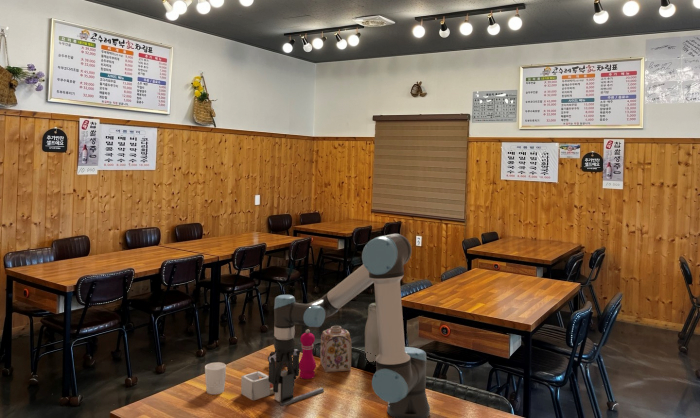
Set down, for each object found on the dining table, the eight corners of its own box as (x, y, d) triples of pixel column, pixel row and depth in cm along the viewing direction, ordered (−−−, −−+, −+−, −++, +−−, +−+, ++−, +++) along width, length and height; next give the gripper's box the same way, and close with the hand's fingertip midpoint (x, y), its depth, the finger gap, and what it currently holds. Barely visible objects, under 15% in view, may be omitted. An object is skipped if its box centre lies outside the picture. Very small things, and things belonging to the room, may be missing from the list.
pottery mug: (297, 365, 232) (297, 353, 228) (285, 381, 225) (285, 368, 221) (274, 354, 237) (274, 342, 232) (262, 369, 230) (261, 357, 225)
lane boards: (293, 386, 208) (293, 382, 208) (269, 395, 200) (269, 389, 200) (281, 380, 213) (281, 376, 213) (257, 388, 206) (257, 383, 205)
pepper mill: (313, 380, 215) (313, 332, 213) (296, 378, 216) (296, 331, 215) (317, 373, 222) (318, 327, 220) (301, 372, 223) (301, 326, 222)
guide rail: (323, 391, 204) (323, 388, 204) (282, 406, 190) (282, 403, 190) (321, 390, 205) (321, 387, 205) (280, 405, 191) (280, 402, 191)
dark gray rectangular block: (293, 399, 196) (293, 373, 195) (282, 403, 192) (282, 376, 192) (269, 386, 207) (269, 362, 206) (258, 390, 203) (258, 365, 203)
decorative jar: (351, 371, 226) (352, 330, 224) (324, 373, 223) (325, 331, 222) (345, 361, 237) (345, 322, 236) (320, 363, 234) (320, 323, 233)
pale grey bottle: (381, 360, 240) (382, 299, 238) (389, 367, 230) (391, 305, 228) (361, 362, 236) (362, 301, 235) (368, 370, 227) (370, 306, 225)
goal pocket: (270, 394, 200) (270, 377, 199) (253, 400, 195) (253, 382, 194) (258, 388, 206) (258, 371, 205) (241, 393, 200) (241, 376, 200)
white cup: (200, 392, 201) (200, 367, 200) (214, 385, 208) (214, 360, 207) (216, 397, 197) (216, 371, 197) (230, 389, 204) (230, 364, 204)
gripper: (297, 329, 203) (296, 388, 205) (258, 339, 191) (257, 401, 192) (309, 334, 198) (309, 394, 199) (270, 344, 185) (269, 408, 187)
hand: (283, 397), depth 196 cm, fingers closed on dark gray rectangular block, 5 cm apart
